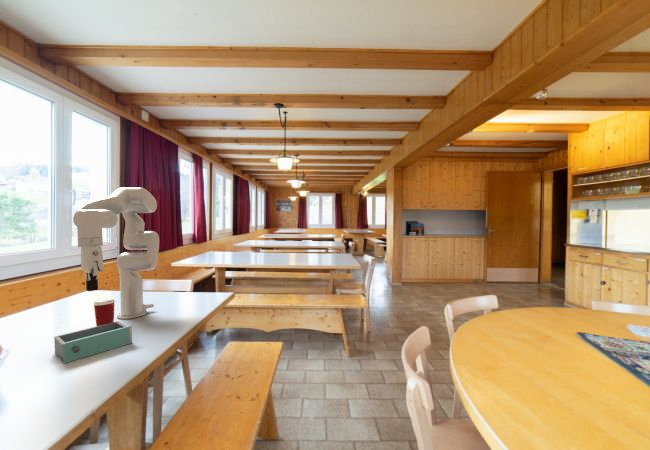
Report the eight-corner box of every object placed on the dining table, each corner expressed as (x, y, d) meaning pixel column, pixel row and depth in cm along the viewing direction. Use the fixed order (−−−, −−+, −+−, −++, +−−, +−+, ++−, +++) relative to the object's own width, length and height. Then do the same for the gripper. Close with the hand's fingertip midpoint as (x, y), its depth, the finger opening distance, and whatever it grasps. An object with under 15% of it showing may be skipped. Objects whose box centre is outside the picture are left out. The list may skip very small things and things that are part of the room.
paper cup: (120, 329, 133) (119, 297, 133) (102, 336, 126) (101, 302, 125) (107, 328, 136) (106, 296, 135) (89, 334, 128) (88, 301, 128)
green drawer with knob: (131, 341, 120) (131, 325, 119) (134, 343, 118) (133, 326, 118) (63, 362, 103) (62, 343, 103) (65, 364, 102) (64, 345, 102)
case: (118, 335, 127) (117, 321, 127) (129, 342, 119) (128, 327, 119) (55, 352, 111) (54, 336, 111) (63, 362, 104) (62, 344, 104)
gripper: (108, 242, 115) (110, 291, 115) (96, 240, 124) (97, 286, 125) (84, 244, 109) (86, 295, 110) (72, 242, 118) (74, 289, 119)
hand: (92, 290), depth 117 cm, fingers closed
